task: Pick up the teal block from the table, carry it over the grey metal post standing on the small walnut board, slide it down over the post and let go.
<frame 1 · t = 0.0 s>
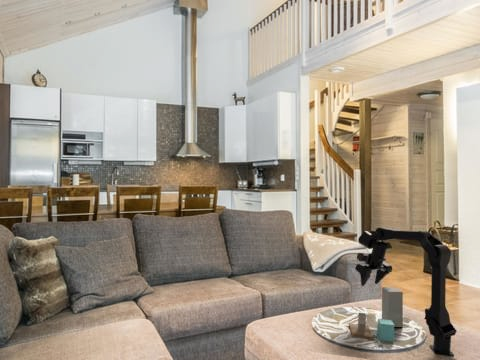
hand: (369, 284, 167), 15 cm above the table, tool pointing down, fingers open, 9 cm apart
marker stand: (361, 333, 150), on the table
skincare box: (390, 324, 162), on the table
teal block: (385, 338, 147), on the table
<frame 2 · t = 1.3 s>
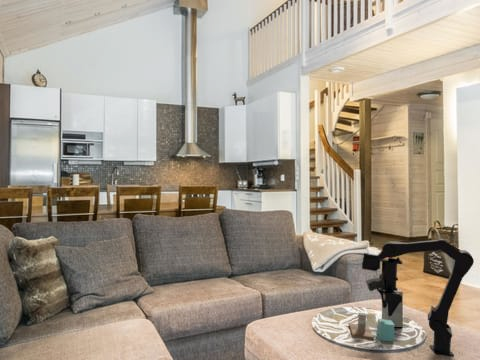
hand: (386, 311, 147), 11 cm above the table, tool pointing down, fingers open, 9 cm apart
nothing on the table moved.
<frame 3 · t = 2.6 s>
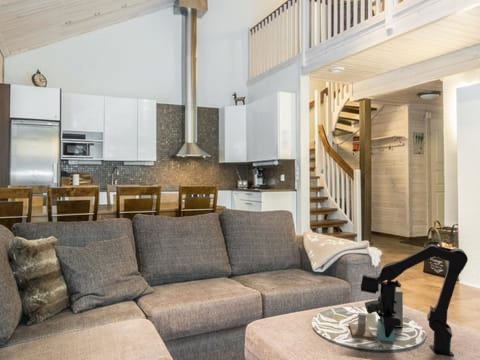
hand: (385, 334, 147), 2 cm above the table, tool pointing down, fingers closed on teal block, 5 cm apart
teal block: (385, 338, 147), on the table, touching gripper
everything else where it was.
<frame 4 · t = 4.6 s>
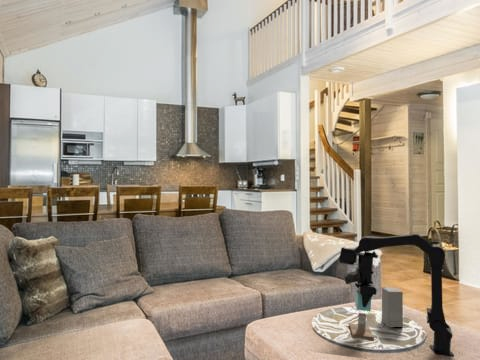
hand: (363, 304, 150), 12 cm above the table, tool pointing down, fingers closed on teal block, 5 cm apart
teal block: (362, 308, 150), point 10 cm above the table, touching gripper
everything else where it was.
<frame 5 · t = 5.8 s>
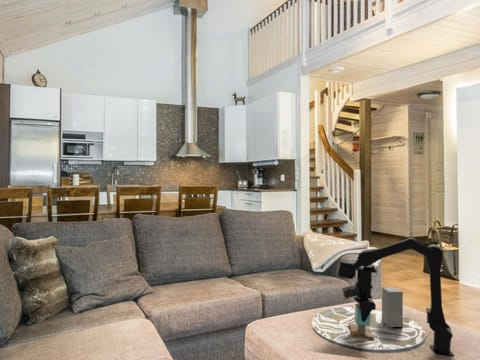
hand: (362, 319, 150), 6 cm above the table, tool pointing down, fingers closed on teal block, 5 cm apart
teal block: (361, 322, 150), point 4 cm above the table, touching gripper
everything else where it was.
when the fingers open (4 cm above the table, at t = 6.7 s): teal block stays where it is, resting on marker stand.
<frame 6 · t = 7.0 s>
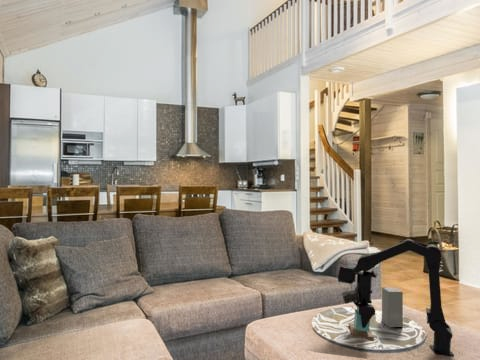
hand: (361, 323, 150), 4 cm above the table, tool pointing down, fingers open, 8 cm apart
teal block: (361, 328, 150), point 2 cm above the table, touching marker stand
everything else where it was.
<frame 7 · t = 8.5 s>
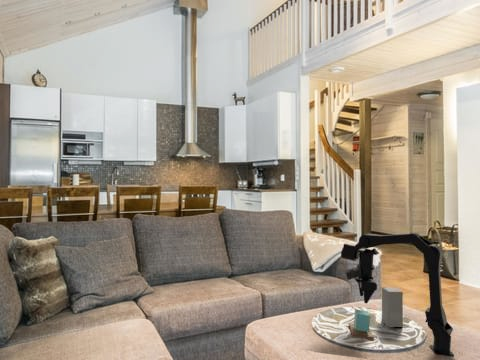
hand: (363, 299, 156), 12 cm above the table, tool pointing down, fingers open, 9 cm apart
nothing on the table moved.
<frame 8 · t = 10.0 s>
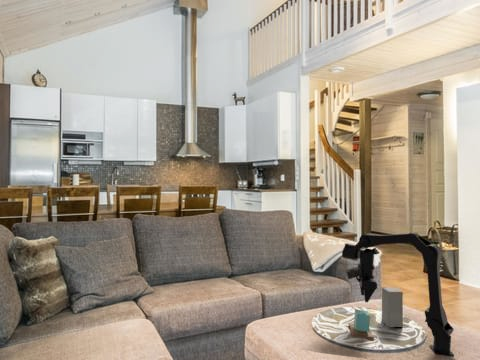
hand: (364, 298, 158), 12 cm above the table, tool pointing down, fingers open, 9 cm apart
nothing on the table moved.
at the end: teal block 0.0 cm from the marker stand (horizontally); teal block point 2.0 cm above the table; the gripper is holding nothing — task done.
